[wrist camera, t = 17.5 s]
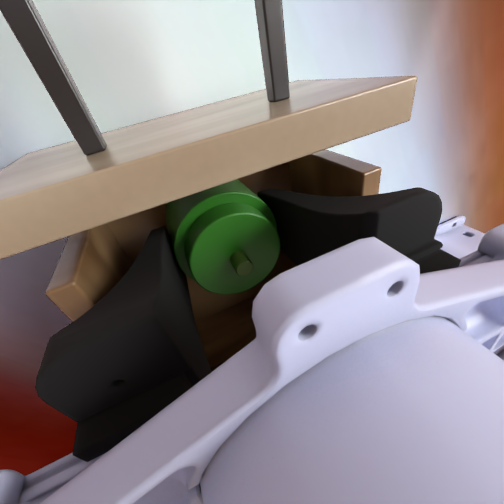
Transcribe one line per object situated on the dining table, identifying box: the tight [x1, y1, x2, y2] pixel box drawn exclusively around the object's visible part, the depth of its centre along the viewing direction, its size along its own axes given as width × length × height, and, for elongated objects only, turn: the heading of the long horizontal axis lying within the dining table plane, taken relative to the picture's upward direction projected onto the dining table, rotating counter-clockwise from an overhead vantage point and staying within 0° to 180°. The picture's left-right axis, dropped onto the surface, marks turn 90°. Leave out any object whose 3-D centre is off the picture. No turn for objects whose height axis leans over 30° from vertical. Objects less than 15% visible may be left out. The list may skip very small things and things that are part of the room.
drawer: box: [0, 0, 417, 367], centre depth 11 cm, size 18×12×7 cm
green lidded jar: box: [166, 179, 280, 295], centre depth 11 cm, size 5×5×5 cm
